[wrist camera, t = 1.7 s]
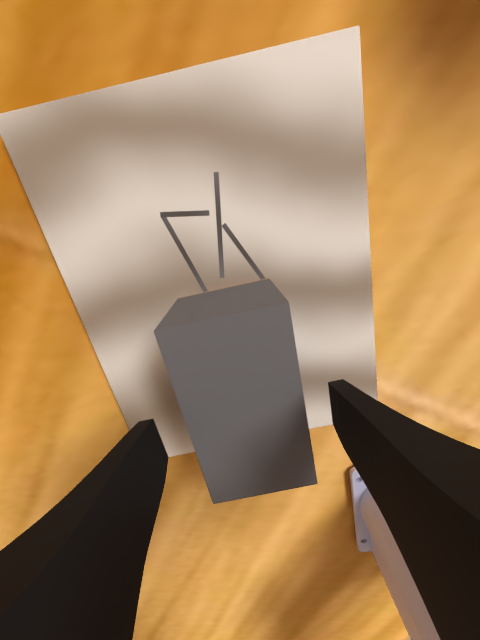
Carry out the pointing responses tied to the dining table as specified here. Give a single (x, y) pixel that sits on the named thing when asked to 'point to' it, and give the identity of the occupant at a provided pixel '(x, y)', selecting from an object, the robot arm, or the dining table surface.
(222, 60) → the board
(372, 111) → the dining table surface
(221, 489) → the block
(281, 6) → the dining table surface
